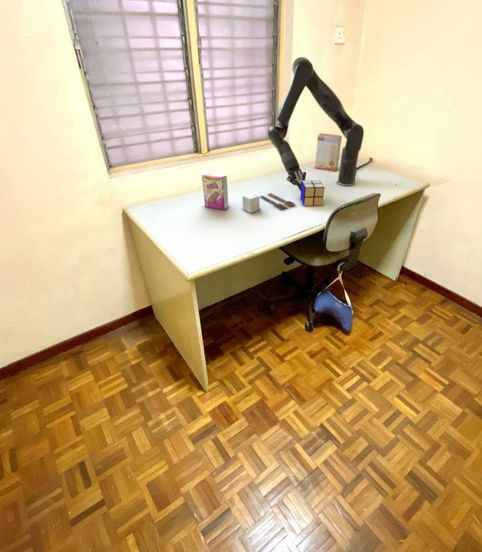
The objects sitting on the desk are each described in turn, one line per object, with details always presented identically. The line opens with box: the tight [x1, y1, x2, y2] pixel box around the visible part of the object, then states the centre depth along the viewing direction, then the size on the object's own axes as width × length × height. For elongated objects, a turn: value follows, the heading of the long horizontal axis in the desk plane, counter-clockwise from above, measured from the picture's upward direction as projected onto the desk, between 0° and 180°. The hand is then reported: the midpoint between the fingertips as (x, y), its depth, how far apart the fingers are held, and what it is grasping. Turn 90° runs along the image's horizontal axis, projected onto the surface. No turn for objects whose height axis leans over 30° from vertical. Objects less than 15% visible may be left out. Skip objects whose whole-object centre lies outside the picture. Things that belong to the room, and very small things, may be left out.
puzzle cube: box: [299, 179, 325, 207], centre depth 171 cm, size 10×10×10 cm
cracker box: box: [314, 133, 343, 172], centre depth 211 cm, size 14×6×21 cm, turn 66°
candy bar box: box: [201, 171, 229, 211], centre depth 162 cm, size 11×5×16 cm, turn 71°
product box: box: [242, 192, 261, 214], centre depth 163 cm, size 6×6×7 cm
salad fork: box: [260, 195, 288, 211], centre depth 172 cm, size 4×19×1 cm, turn 39°
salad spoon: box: [267, 193, 295, 208], centre depth 175 cm, size 4×19×1 cm, turn 39°
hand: (303, 190), depth 176 cm, fingers closed
